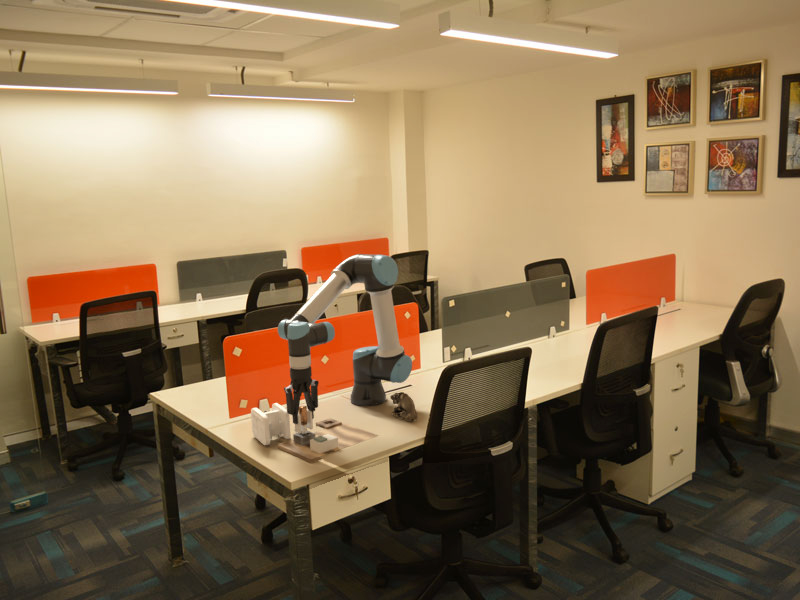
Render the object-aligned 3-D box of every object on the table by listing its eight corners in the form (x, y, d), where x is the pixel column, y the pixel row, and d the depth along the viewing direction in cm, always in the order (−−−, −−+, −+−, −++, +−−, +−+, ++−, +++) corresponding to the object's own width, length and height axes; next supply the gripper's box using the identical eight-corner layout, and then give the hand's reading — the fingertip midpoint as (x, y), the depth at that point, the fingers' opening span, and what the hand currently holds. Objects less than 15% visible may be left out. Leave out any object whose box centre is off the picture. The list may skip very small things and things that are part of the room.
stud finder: (328, 443, 244) (328, 432, 243) (338, 447, 240) (337, 435, 239) (310, 449, 239) (309, 438, 238) (319, 453, 235) (319, 442, 234)
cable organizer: (292, 442, 249) (290, 411, 247) (264, 449, 244) (262, 417, 242) (277, 430, 262) (276, 401, 260) (250, 436, 257) (248, 406, 255)
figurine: (402, 411, 279) (402, 388, 278) (421, 421, 267) (420, 396, 265) (389, 414, 276) (388, 390, 275) (407, 424, 264) (406, 399, 262)
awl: (305, 439, 248) (303, 405, 246) (310, 441, 246) (308, 406, 244) (299, 441, 246) (297, 407, 244) (303, 443, 244) (301, 408, 242)
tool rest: (330, 423, 268) (330, 418, 268) (341, 427, 263) (341, 422, 263) (316, 427, 264) (315, 422, 263) (327, 432, 259) (327, 427, 258)
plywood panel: (344, 426, 265) (343, 415, 264) (378, 438, 250) (378, 427, 250) (278, 447, 244) (277, 436, 244) (311, 462, 230) (310, 451, 229)
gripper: (314, 359, 250) (317, 421, 254) (273, 369, 238) (277, 434, 242) (326, 363, 245) (329, 426, 249) (285, 373, 233) (289, 439, 237)
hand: (304, 429), depth 245 cm, fingers open, 4 cm apart
